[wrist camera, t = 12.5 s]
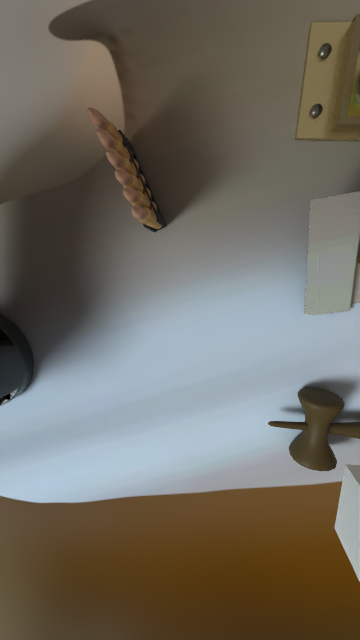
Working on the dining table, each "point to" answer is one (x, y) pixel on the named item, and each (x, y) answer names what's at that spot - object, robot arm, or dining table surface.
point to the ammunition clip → (128, 172)
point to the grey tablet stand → (333, 254)
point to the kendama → (318, 429)
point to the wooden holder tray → (331, 83)
